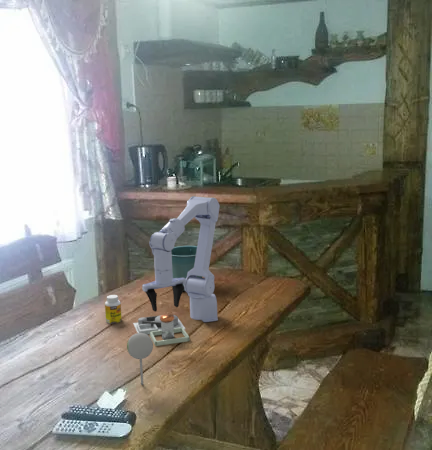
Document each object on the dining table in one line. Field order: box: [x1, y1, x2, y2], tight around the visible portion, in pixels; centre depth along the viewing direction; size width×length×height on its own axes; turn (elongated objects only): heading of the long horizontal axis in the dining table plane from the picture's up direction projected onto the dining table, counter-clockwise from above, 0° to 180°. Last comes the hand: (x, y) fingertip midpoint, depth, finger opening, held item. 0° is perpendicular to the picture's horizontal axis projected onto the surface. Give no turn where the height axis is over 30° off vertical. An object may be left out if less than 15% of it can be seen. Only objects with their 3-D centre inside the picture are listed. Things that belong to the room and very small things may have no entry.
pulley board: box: [132, 314, 186, 335], centre depth 209 cm, size 16×12×4 cm
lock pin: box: [160, 313, 175, 340], centre depth 198 cm, size 5×5×8 cm
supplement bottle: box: [104, 294, 123, 325], centre depth 214 cm, size 6×6×10 cm
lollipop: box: [126, 332, 154, 386], centre depth 167 cm, size 7×7×15 cm
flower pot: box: [171, 245, 203, 292], centre depth 253 cm, size 16×16×16 cm
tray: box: [149, 327, 191, 347], centre depth 198 cm, size 11×9×2 cm
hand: (165, 308), depth 199 cm, fingers open, 7 cm apart
